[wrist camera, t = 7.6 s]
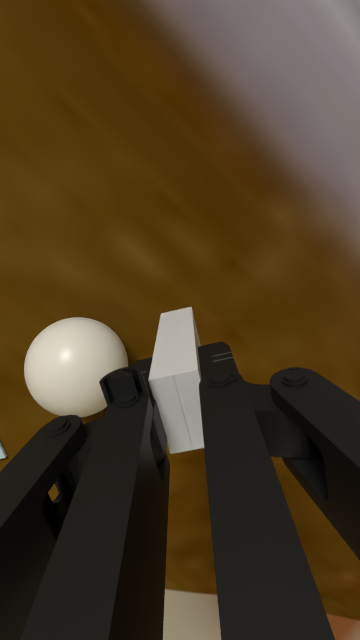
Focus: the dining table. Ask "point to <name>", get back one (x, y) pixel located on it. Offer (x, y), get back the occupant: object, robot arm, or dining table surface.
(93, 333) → the cue ball
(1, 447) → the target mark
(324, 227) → the dining table surface
